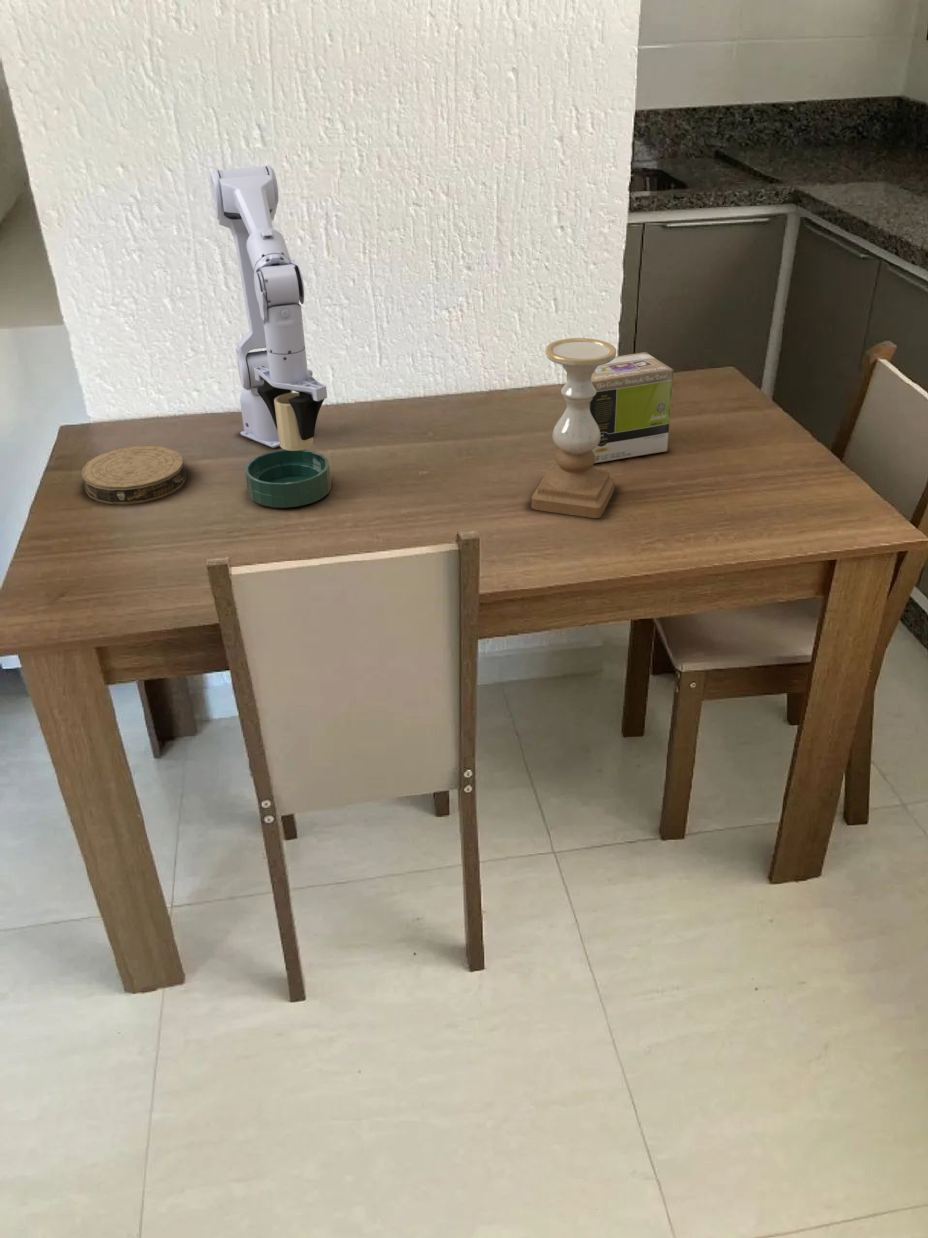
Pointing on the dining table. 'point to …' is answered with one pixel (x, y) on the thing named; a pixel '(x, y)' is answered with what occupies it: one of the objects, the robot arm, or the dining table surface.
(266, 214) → the robot arm
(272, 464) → the bowl
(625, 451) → the tea box
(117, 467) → the round wood slice
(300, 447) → the cup
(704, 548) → the dining table surface
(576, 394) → the candle holder
